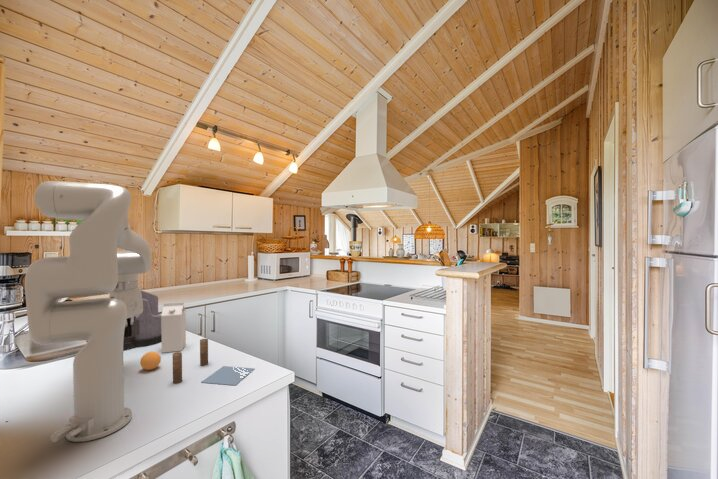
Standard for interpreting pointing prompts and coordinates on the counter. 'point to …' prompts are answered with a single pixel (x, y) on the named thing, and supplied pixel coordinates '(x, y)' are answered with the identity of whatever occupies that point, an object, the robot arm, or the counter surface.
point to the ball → (150, 360)
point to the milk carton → (173, 327)
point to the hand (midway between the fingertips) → (126, 336)
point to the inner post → (177, 367)
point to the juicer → (145, 325)
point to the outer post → (203, 352)
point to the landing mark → (226, 376)
